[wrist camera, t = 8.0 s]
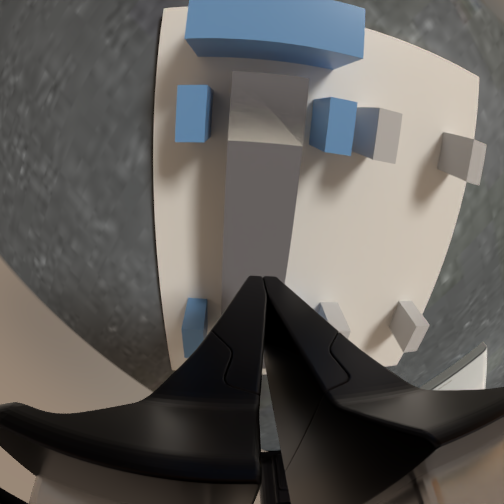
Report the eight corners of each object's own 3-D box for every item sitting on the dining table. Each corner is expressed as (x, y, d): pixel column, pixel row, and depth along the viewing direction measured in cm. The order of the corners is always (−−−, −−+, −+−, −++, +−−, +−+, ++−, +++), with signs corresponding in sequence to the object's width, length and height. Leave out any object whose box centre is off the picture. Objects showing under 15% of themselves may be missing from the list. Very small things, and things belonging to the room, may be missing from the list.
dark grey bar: (266, 336, 16) (270, 368, 14) (222, 334, 16) (220, 367, 14) (295, 85, 10) (309, 78, 8) (233, 79, 10) (232, 70, 8)
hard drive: (418, 399, 21) (433, 430, 25) (488, 348, 19) (486, 393, 23) (411, 386, 22) (429, 420, 27) (480, 337, 20) (480, 384, 25)
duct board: (394, 361, 19) (412, 397, 16) (172, 365, 18) (164, 409, 15) (474, 77, 10) (519, 79, 7) (165, 11, 9) (142, -19, 6)
